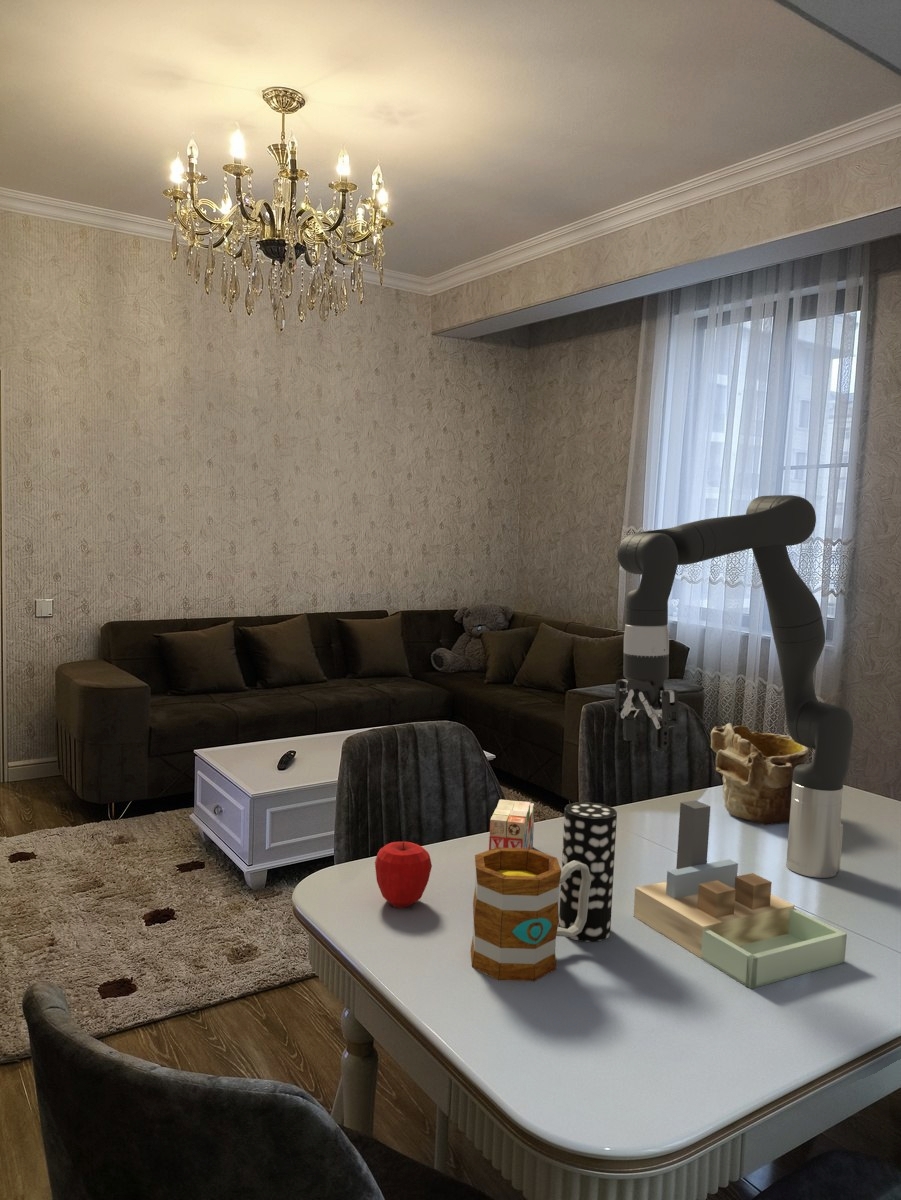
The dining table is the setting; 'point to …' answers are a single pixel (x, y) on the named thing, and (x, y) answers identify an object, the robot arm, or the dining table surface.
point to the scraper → (696, 854)
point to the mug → (521, 912)
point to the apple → (402, 872)
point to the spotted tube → (594, 846)
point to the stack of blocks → (512, 825)
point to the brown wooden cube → (716, 899)
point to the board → (708, 918)
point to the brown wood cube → (752, 891)
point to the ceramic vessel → (756, 772)
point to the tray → (777, 952)
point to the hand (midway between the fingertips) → (644, 745)
